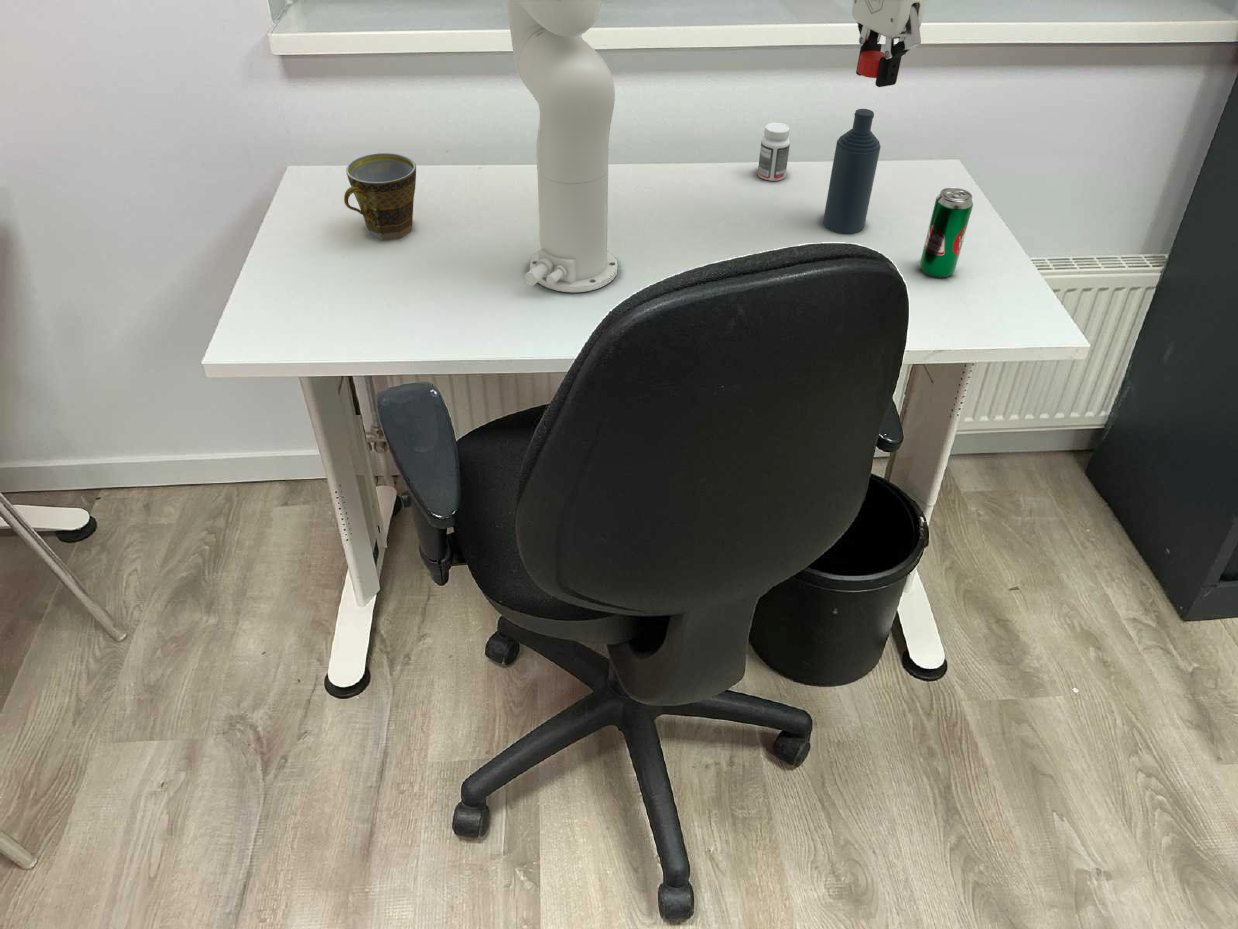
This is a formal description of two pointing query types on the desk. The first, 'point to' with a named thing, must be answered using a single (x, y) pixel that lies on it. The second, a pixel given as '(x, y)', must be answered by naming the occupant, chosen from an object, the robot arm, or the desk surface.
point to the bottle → (852, 176)
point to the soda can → (946, 232)
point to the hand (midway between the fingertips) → (875, 78)
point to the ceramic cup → (383, 193)
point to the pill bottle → (774, 152)
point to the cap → (869, 63)
